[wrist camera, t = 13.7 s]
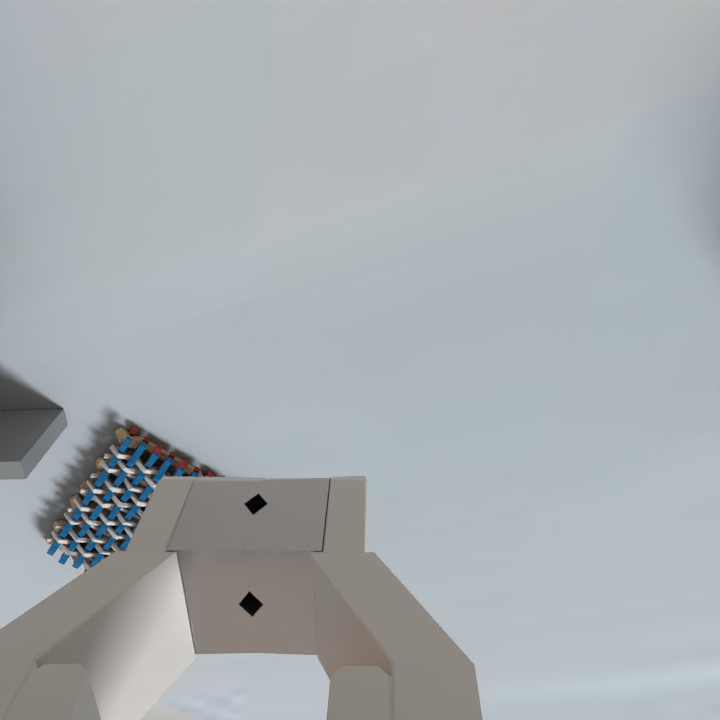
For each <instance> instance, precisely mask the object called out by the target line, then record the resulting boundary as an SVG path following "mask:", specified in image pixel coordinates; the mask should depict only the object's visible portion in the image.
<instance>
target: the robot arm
mask: <svg viewBox="0 0 720 720" xmlns="http://www.w3.org/2000/svg"><path fill="white" fill-rule="evenodd" d="M222 653H277V654H305V655H318V659H319V661H320V663H321V664H322V666H323V668H324V670H325V672H326V674H327V675H328V677H329V679H330V689H329V699H328V710H327V720H482V714H481V707H480V700H479V693H478V686H477V679H476V673H475V666H474V664H473V663H472V662H471V661H470V659H469V658H468V657H467V656H466V655H465V654H464V653H463V652H462V650H461V649H460V648H459V647H458V646H457V645H456V644H455V643H454V641H453V640H452V639H451V638H450V637H449V636H448V635H447V633H446V632H445V631H444V630H443V629H442V628H441V627H440V626H439V624H438V623H437V622H436V621H435V620H434V619H433V618H432V617H431V615H430V614H429V613H428V612H427V611H426V610H425V609H424V608H423V606H422V605H421V604H420V603H419V602H418V601H417V600H416V599H415V597H414V596H413V595H412V594H411V593H410V592H409V591H408V590H407V588H406V587H405V586H404V585H403V584H402V583H401V582H400V581H399V579H398V578H397V577H396V576H395V575H394V574H393V573H392V571H391V570H390V569H389V568H388V567H387V566H386V565H385V564H384V562H383V561H382V560H381V559H380V558H379V557H378V556H377V555H376V553H373V552H368V532H367V480H366V478H365V476H346V477H332V478H270V479H265V478H245V477H198V478H197V477H170V476H165V477H164V478H162V479H161V480H159V482H158V483H157V485H156V487H155V489H154V491H153V493H152V496H151V498H150V500H149V502H148V504H147V506H146V508H145V510H144V512H143V515H142V517H141V519H140V521H139V523H138V525H137V527H136V529H135V531H134V533H133V536H132V538H131V540H130V542H129V544H128V546H127V548H126V550H125V552H114V553H112V554H111V555H109V556H108V557H106V558H105V559H103V560H102V561H100V562H99V563H97V564H96V565H94V566H93V567H91V568H90V569H89V570H87V571H86V572H84V573H83V574H81V575H80V576H78V577H77V578H75V579H74V580H72V581H71V582H69V583H68V584H66V585H65V586H64V587H62V588H61V589H59V590H58V591H56V592H55V593H53V594H52V595H50V596H49V597H47V598H46V599H44V600H43V601H41V602H40V603H38V604H37V605H36V606H34V607H33V608H31V609H30V610H28V611H27V612H25V613H24V614H22V615H21V616H19V617H18V618H16V619H15V620H13V621H12V622H10V623H9V624H8V625H6V626H5V627H3V628H2V629H0V720H140V719H141V718H142V717H143V716H144V714H145V713H146V712H147V711H148V710H149V709H150V708H151V707H152V706H153V704H154V703H155V702H156V701H157V700H158V699H159V698H160V697H161V696H162V694H163V693H164V692H165V691H166V690H167V689H168V688H169V687H170V686H171V684H172V683H173V682H174V681H175V680H176V679H177V678H178V677H179V676H180V674H181V673H182V672H183V671H184V670H185V669H186V668H187V667H188V666H189V664H190V663H191V662H192V661H193V660H194V659H195V654H222Z"/></svg>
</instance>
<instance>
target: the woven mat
mask: <svg viewBox="0 0 720 720" xmlns="http://www.w3.org/2000/svg"><path fill="white" fill-rule="evenodd" d="M137 431H138V429H137V428H135V427H132V429H131V430H130V431H129V432H128V430H126V429H125V428H119V429H118V430H116V431H115V434H116V437H117V439H118V442H119V443H120V446H117V445H113V444H112V445H111V446H110V450H111V451H112V452H113V453H114V455H111V454H104V457H98V459H97V461H96V466H97V469H103V471H102V472H100V471H97V472H96V473H95V474H94V473H91V476H90V478H96V481H95V482H94V484H92V483H91V481H90V480H87V481H85V480H84V481H83V483H82V484H81V486H80V487H79V488H80V491H79V492H80V494H82V495H84V496H85V497H84V498H83V500H82V498H81V497H80V496H79V495H75V496H73V497H71V498H70V503H71V506H72V507H68V509H67V511H68V512H69V513H64V516H65V517H66V519H67V520H68V522H67V521H64V520H58V521H55V522H54V524H53V528H54V531H52V532H51V534H52V535H53V536H52V538H49V537H47V539H46V542H47V543H49V544H51V547H50V548H49V550H48V552H47V553H48V554H50V555H53V554H54V553H55V552H56V550H57V549H58V548H59V549H61V550H62V551H63V552H64V553H63V554H62V556H61V558H60V560H59V561H58V562H60V563H62V564H65V562H66V561H67V559H68V558H69V556H70V555H71V556H72V558H73V560H74V564H73V565H72V566H73V567H75V568H77V569H78V568H79V567H80V566H81V564H82V563H83V564H84V566H85V568H86V569H85V571H84V572H86V571H87V570H89V569H90V568H91V567H93V566H94V565H96V564H97V563H99V562H100V561H102V560H103V559H105V558H106V557H104V555H105V554H106V555H111V554H112V553H114V552H125V549H126V548H127V546H128V544H129V542H130V540H131V538H132V536H133V533H134V531H135V529H136V527H137V525H138V523H139V521H140V519H141V517H142V515H143V512H144V511H142V509H141V508H140V506H142V507H146V506H147V504H148V502H149V500H150V498H151V496H152V493H153V491H154V489H155V487H156V485H157V483H158V482H159V480H161V479H162V478H164V477H165V476H170V477H181V476H182V474H183V473H185V474H186V475H188V477H197V478H198V477H213V476H214V474H213V473H211V472H210V471H209V472H208V473H207V474H206V475H205V476H204V475H203V474H202V472H201V471H200V470H201V469H199V468H198V467H193V466H192V465H190V464H188V462H189V461H188V460H186V459H183V460H181V459H180V458H178V457H176V454H175V453H173V452H172V451H171V452H170V453H169V452H168V451H166V450H164V449H163V448H164V447H163V446H161V445H160V444H158V445H156V444H154V443H152V442H150V440H151V439H149V438H147V437H146V436H145V437H144V438H143V437H142V436H135V435H136V433H137ZM127 447H128V448H136V450H135V451H134V453H132V452H130V451H128V450H127ZM144 450H145V451H147V452H148V453H150V456H149V457H148V458H147V459H146V461H145V462H143V461H142V459H141V458H140V456H141V454H142V453H143V451H144ZM158 458H159V459H160V460H162V461H164V462H163V463H162V465H161V466H160V467H157V466H152V465H153V464H154V463H155V461H156V460H157V459H158ZM121 459H125V460H126V461H127V463H126V464H125V463H124V462H123V461H122V460H121ZM170 465H171V466H173V467H174V468H176V469H175V471H174V472H173V473H172V475H171V474H170V473H168V472H166V471H167V469H168V468H169V466H170ZM110 473H112V474H114V475H116V476H117V477H116V478H115V479H114V480H112V478H110V477H109V476H108V475H109V474H110ZM129 480H130V481H131V482H129ZM123 481H124V483H125V485H120V484H121V483H122V482H123ZM138 485H139V486H140V487H142V488H139V487H137V486H138ZM100 486H101V488H102V489H99V488H100ZM117 496H120V497H119V499H118V498H117ZM129 498H130V499H132V500H133V501H134V503H133V504H132V503H125V502H126V501H127V500H128V499H129ZM91 500H92V501H94V502H96V503H98V504H96V503H89V502H90V501H91ZM106 508H107V509H108V510H107V509H106ZM109 510H110V511H109ZM120 511H121V512H123V513H125V515H124V516H123V515H122V514H121V512H120ZM88 515H89V517H88ZM98 516H99V517H100V518H101V519H102V520H103V521H96V520H95V519H97V517H98ZM129 520H130V521H129ZM75 525H78V526H80V527H81V528H79V527H77V526H75ZM110 525H113V526H116V527H115V528H114V529H112V527H111V526H110ZM89 528H91V529H93V530H95V533H94V534H93V533H92V531H91V530H90V529H89ZM123 530H125V532H126V533H127V534H121V533H122V531H123ZM56 532H60V534H58V533H56ZM68 533H69V534H70V535H71V536H72V538H73V540H70V539H68V538H66V536H67V535H68ZM79 542H82V543H87V544H86V545H85V546H84V547H82V545H81V544H80V543H79ZM94 547H95V548H96V549H97V551H98V552H97V553H96V552H90V551H91V550H92V549H93V548H94Z"/></svg>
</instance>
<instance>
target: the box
mask: <svg viewBox="0 0 720 720" xmlns="http://www.w3.org/2000/svg"><path fill="white" fill-rule="evenodd" d="M66 426H67V421H66V417H65V413H64V409H44V410H0V479H26V478H27V477H28V475H29V474H30V473H31V471H32V470H33V469H34V468H35V466H36V465H37V464H38V462H39V461H40V460H41V459H42V457H43V456H44V455H45V453H46V452H47V451H48V450H49V448H50V447H51V446H52V444H53V443H54V442H55V441H56V439H57V438H58V437H59V435H60V434H61V433H62V431H63V430H64V429H65V428H66Z"/></svg>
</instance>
